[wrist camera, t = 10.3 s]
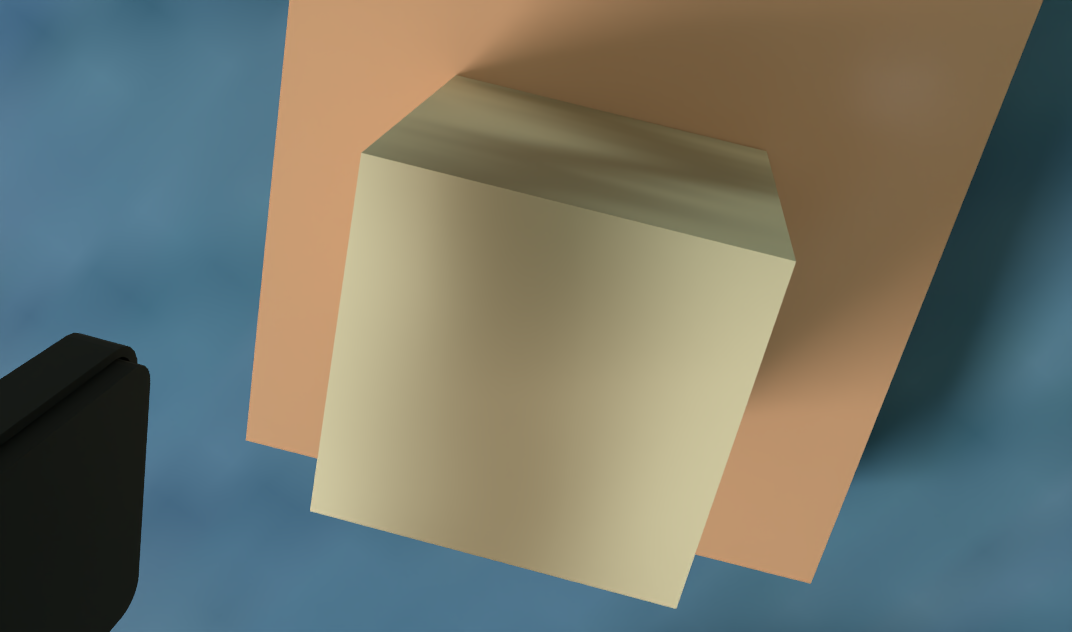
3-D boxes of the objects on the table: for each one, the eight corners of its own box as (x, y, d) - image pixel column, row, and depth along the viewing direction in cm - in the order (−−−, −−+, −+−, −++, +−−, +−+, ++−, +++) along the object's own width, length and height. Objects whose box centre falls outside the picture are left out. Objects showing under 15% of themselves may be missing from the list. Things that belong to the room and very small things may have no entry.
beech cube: (766, 151, 17) (796, 261, 12) (680, 422, 20) (675, 608, 15) (456, 74, 18) (361, 152, 13) (407, 351, 20) (309, 511, 15)
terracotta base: (982, -40, 19) (1051, -22, 16) (791, 478, 24) (810, 583, 21) (377, -176, 20) (308, -189, 16) (310, 358, 25) (245, 440, 21)
